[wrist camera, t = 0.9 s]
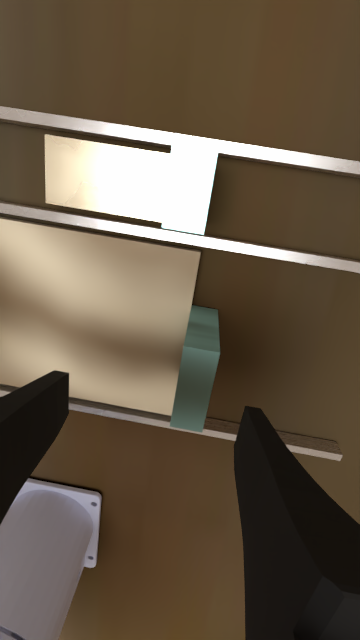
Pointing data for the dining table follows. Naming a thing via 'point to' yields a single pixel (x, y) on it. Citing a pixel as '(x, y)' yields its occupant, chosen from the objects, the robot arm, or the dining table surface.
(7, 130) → the dining table surface
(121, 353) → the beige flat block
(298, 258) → the lane rails
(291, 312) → the dining table surface
